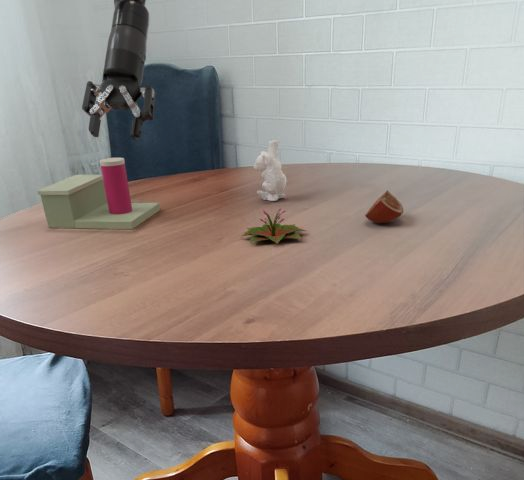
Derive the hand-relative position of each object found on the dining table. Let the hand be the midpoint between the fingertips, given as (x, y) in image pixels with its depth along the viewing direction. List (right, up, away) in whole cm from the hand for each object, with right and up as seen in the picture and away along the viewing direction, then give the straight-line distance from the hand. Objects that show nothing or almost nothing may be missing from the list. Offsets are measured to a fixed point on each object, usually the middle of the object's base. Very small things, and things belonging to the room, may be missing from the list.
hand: (114, 137), depth 108 cm
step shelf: (-2, -16, +3) cm, 16 cm away
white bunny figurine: (+32, -10, +10) cm, 35 cm away
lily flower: (+32, -23, -13) cm, 41 cm away
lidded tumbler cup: (+1, -14, +1) cm, 15 cm away
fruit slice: (+52, -19, -9) cm, 56 cm away
